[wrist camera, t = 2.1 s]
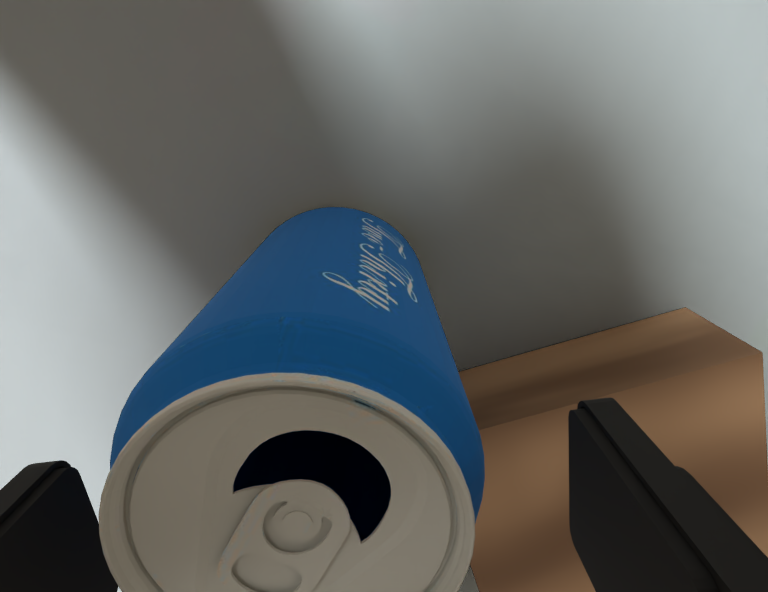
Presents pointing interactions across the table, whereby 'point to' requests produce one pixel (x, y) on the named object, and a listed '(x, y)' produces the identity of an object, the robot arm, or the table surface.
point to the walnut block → (643, 404)
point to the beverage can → (301, 430)
